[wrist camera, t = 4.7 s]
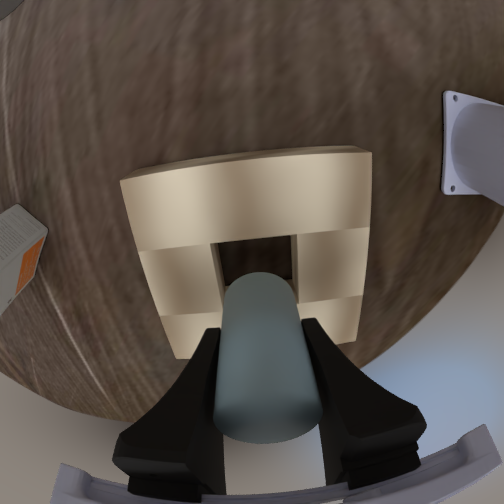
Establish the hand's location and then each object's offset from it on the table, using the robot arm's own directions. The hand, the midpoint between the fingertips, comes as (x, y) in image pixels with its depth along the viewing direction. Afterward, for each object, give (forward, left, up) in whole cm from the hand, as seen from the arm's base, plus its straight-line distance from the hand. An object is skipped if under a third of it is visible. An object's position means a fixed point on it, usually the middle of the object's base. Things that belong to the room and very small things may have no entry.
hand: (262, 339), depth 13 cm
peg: (0, 0, -2) cm, 2 cm away
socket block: (0, 0, -8) cm, 8 cm away
